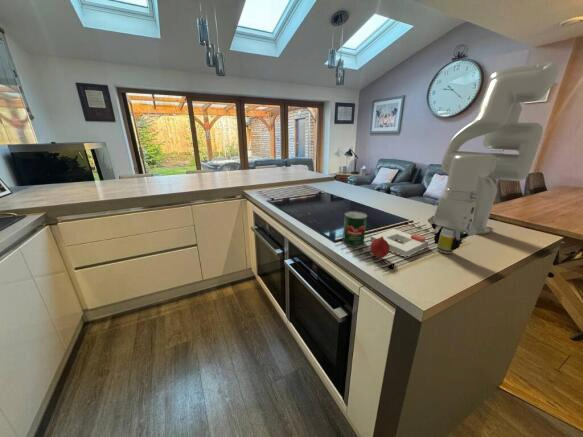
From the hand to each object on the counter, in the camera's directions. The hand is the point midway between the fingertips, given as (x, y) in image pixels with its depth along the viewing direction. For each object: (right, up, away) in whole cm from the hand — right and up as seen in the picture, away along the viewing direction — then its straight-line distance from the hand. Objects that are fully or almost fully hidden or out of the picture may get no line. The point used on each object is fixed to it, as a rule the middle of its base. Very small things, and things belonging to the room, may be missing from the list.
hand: (445, 245), depth 81 cm
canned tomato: (-30, 0, +8) cm, 31 cm away
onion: (-25, -4, -4) cm, 25 cm away
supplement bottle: (0, -2, +1) cm, 2 cm away
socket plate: (-14, 0, +6) cm, 15 cm away
